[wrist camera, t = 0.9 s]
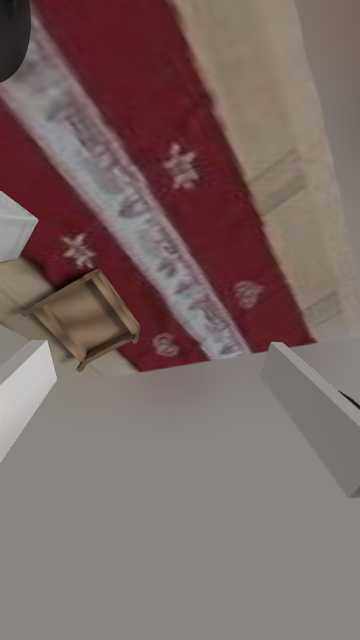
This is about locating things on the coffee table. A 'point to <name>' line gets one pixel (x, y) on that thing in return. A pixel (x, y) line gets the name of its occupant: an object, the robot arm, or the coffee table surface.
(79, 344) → the box
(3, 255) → the skincare box
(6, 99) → the coffee table surface
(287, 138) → the coffee table surface
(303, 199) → the coffee table surface
